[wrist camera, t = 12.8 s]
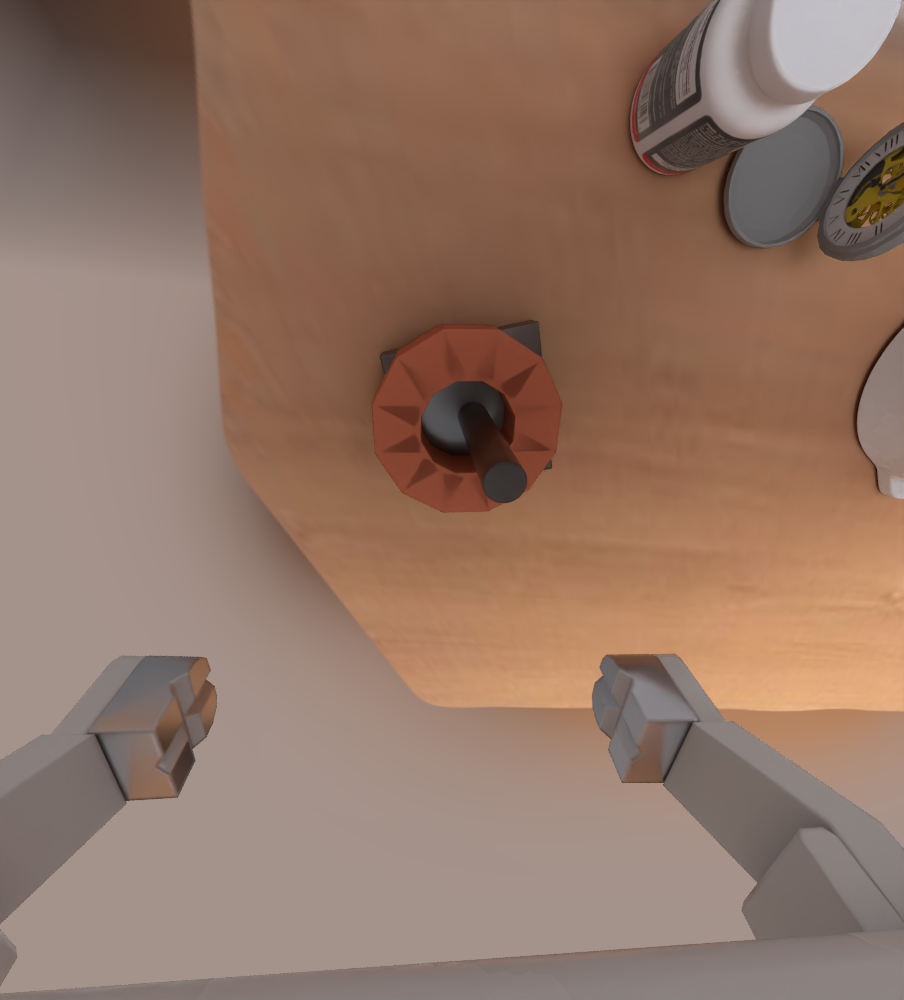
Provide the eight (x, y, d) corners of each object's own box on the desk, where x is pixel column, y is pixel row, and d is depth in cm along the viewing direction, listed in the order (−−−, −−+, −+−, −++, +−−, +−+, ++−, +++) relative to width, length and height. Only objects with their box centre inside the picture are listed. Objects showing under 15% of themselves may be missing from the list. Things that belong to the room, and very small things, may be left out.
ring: (555, 325, 26) (572, 329, 23) (536, 489, 31) (548, 510, 28) (371, 323, 25) (366, 327, 22) (382, 493, 30) (378, 514, 27)
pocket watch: (715, 136, 24) (897, 44, 15) (866, 80, 23) (1147, -49, 14) (719, 290, 28) (867, 290, 19) (849, 245, 27) (1066, 222, 18)
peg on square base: (532, 319, 27) (615, 339, 16) (546, 461, 32) (619, 553, 21) (381, 352, 27) (360, 394, 16) (416, 488, 32) (419, 595, 21)
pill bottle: (745, 119, 24) (945, 16, 15) (659, 202, 25) (795, 153, 16) (697, 10, 22) (897, -187, 13) (606, 107, 23) (729, -8, 14)
